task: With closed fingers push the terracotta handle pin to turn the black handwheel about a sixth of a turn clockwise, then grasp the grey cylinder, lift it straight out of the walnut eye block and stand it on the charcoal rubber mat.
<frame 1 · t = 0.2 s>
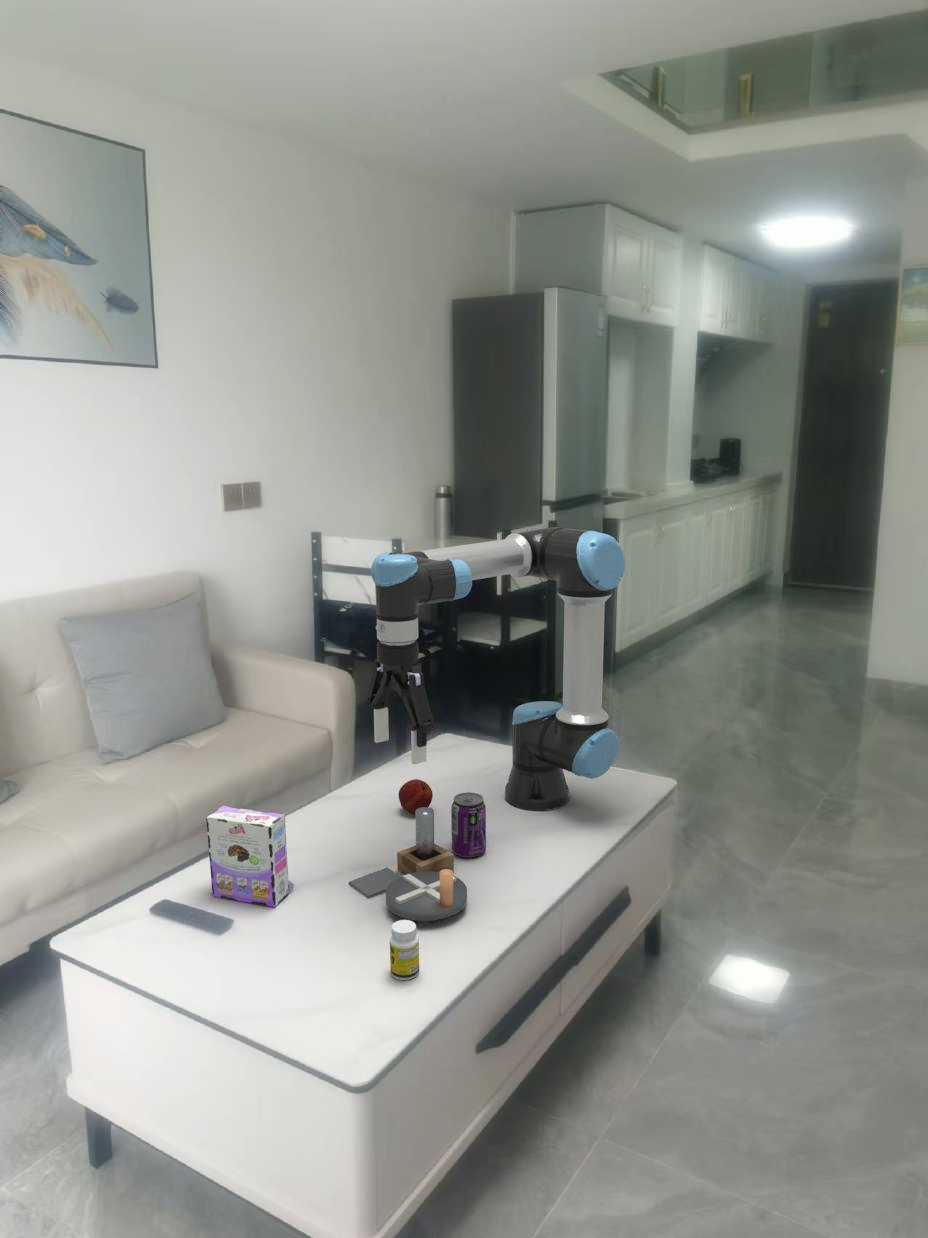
hand: (399, 751, 172), 28 cm above the table, fingers open, 13 cm apart
rest mat: (378, 883, 179), on the table
eye block: (425, 871, 184), on the table
supplement bottle: (405, 973, 151), on the table
apple: (414, 813, 212), on the table
valve body: (426, 907, 171), on the table
handwheel: (426, 879, 170), point 6 cm above the table, hinge at 0.0°
candy box: (250, 896, 176), on the table
beverage can: (468, 853, 192), on the table
grey cylinder: (425, 841, 183), in the eye block
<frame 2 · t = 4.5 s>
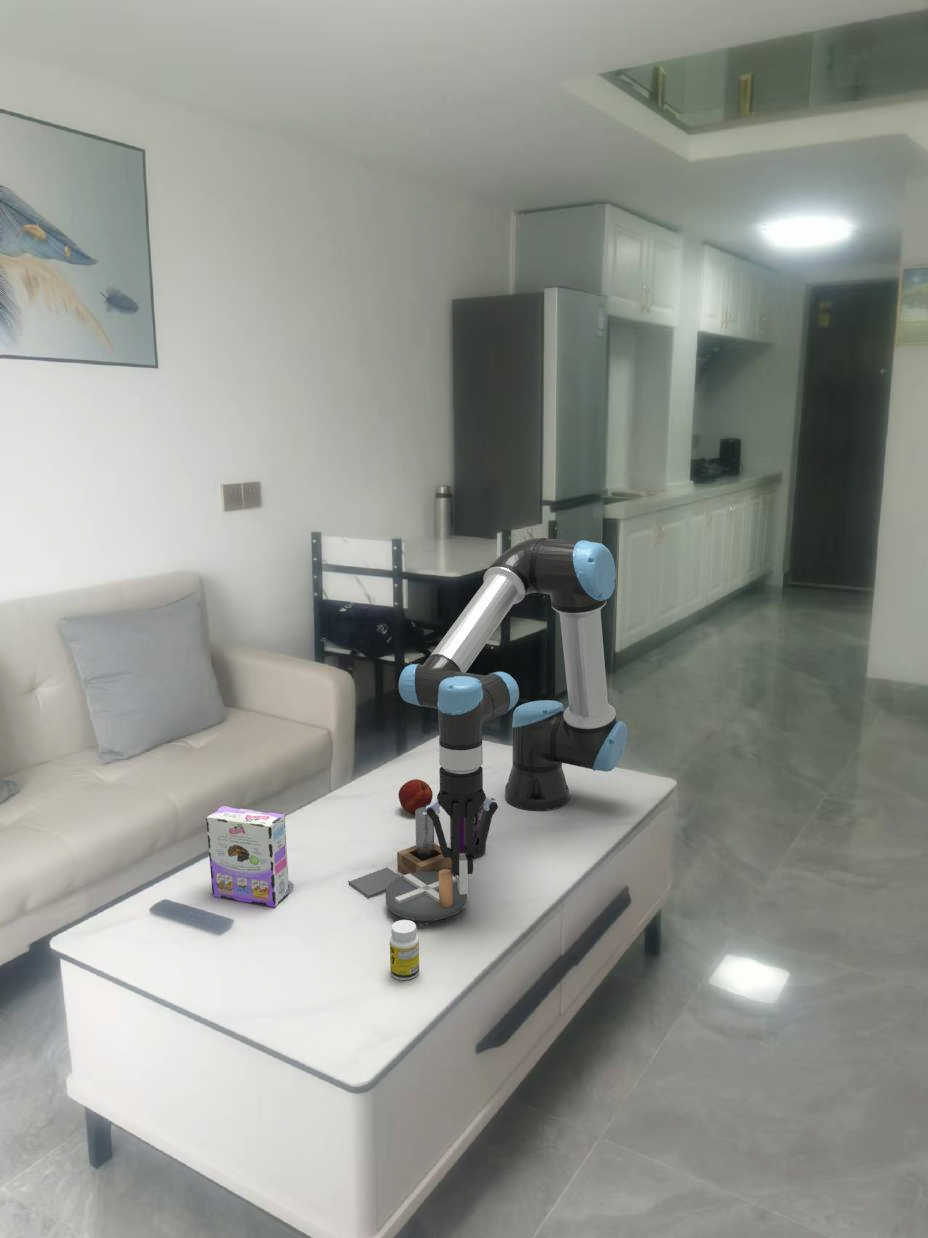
hand: (462, 890, 165), 6 cm above the table, fingers closed
handwheel: (426, 879, 170), point 6 cm above the table, hinge at 1.6°, touching gripper
everything else where it was.
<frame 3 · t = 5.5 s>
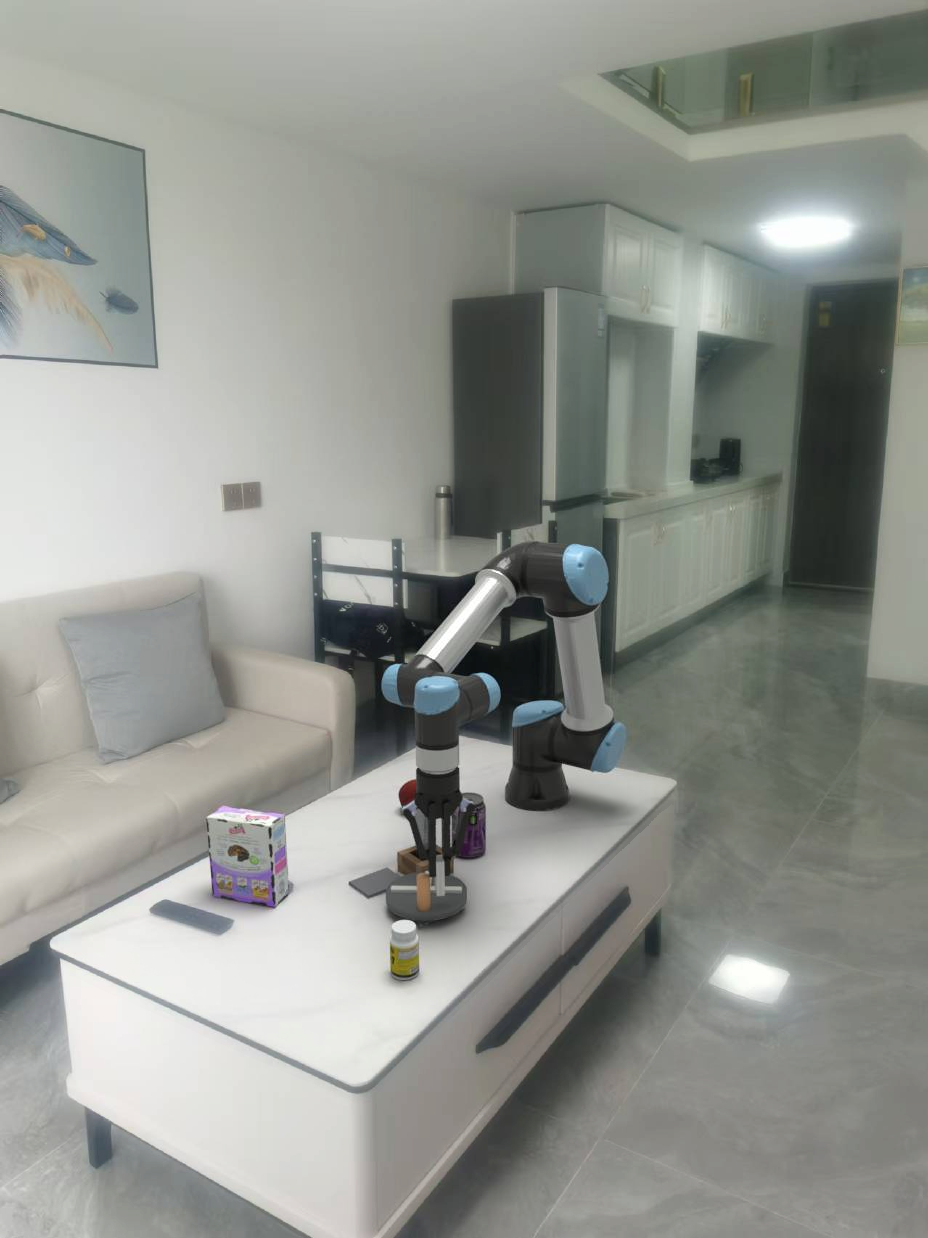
hand: (439, 892, 164), 6 cm above the table, fingers closed
handwheel: (426, 879, 170), point 6 cm above the table, hinge at 41.4°, touching gripper
everything else where it was.
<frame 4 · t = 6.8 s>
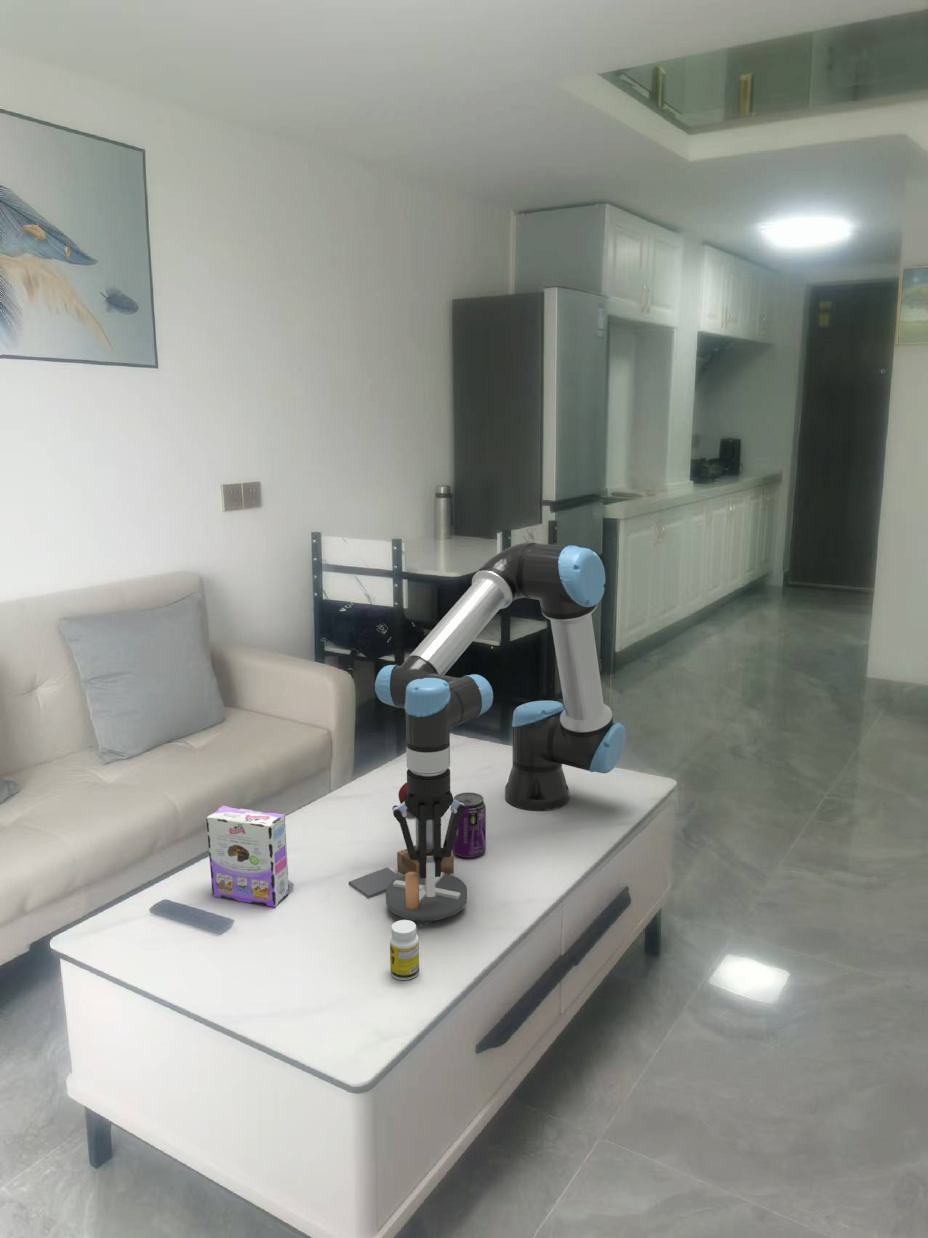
hand: (430, 892, 165), 6 cm above the table, fingers closed
handwheel: (426, 879, 170), point 6 cm above the table, hinge at 61.5°
everything else where it was.
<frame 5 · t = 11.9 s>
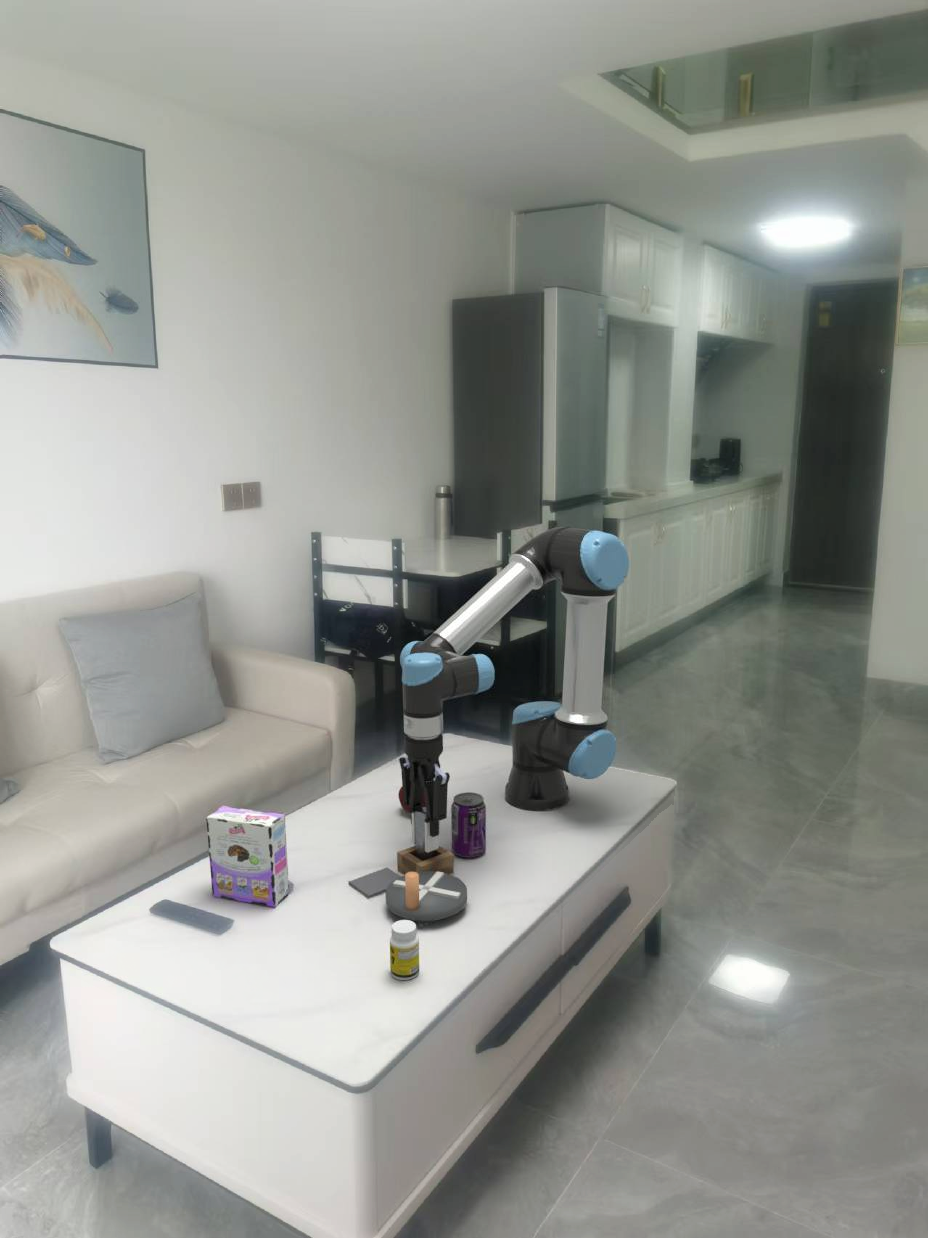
hand: (425, 845, 183), 6 cm above the table, fingers closed on grey cylinder, 4 cm apart
grey cylinder: (425, 841, 183), in the eye block, touching gripper
everything else where it was.
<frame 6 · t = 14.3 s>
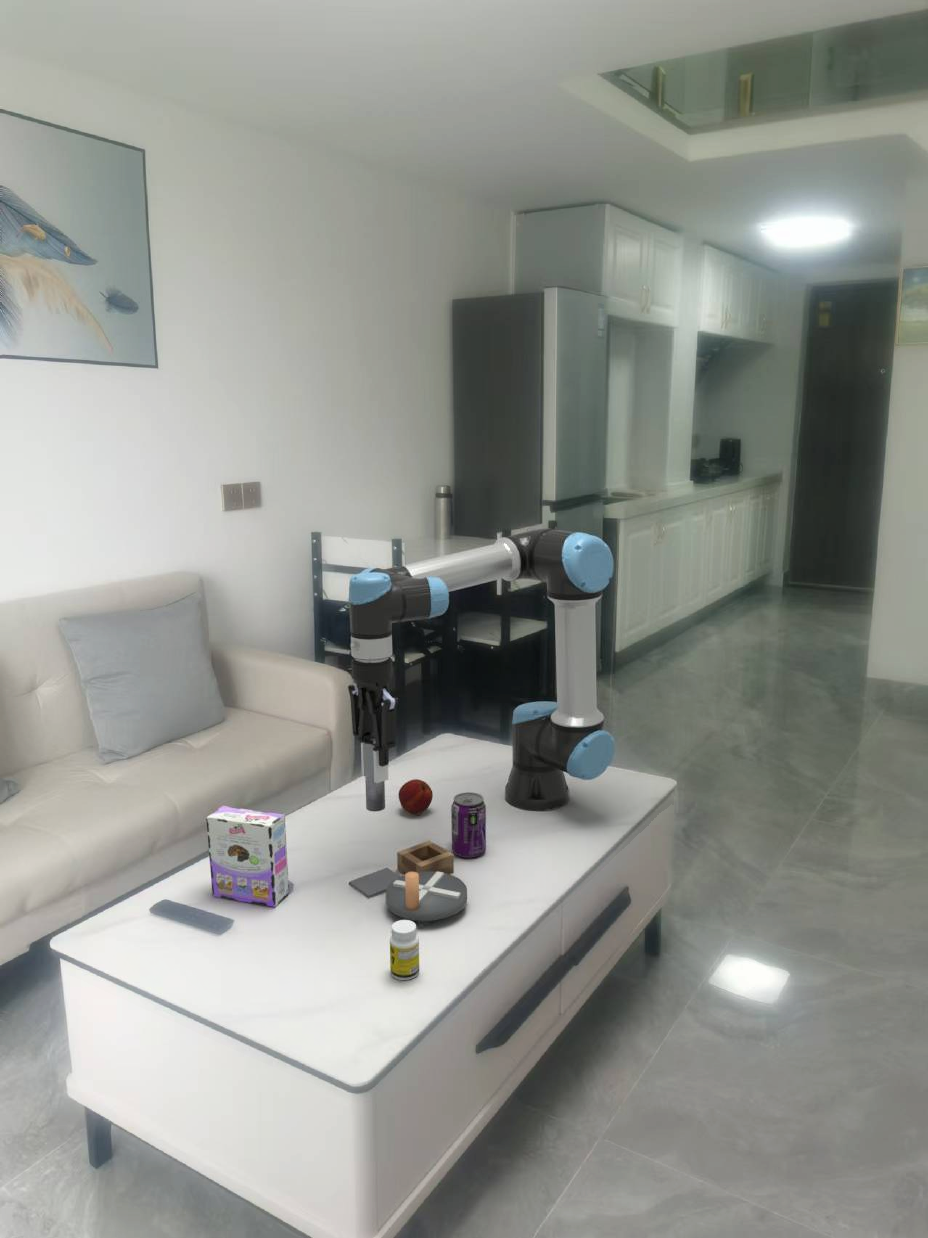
hand: (375, 777, 175), 22 cm above the table, fingers closed on grey cylinder, 3 cm apart
grey cylinder: (374, 775, 175), point 22 cm above the table, touching gripper
everything else where it was.
when the fingers open (7 cm above the table, at t = 17.2 s): grey cylinder stays where it is, resting on rest mat.
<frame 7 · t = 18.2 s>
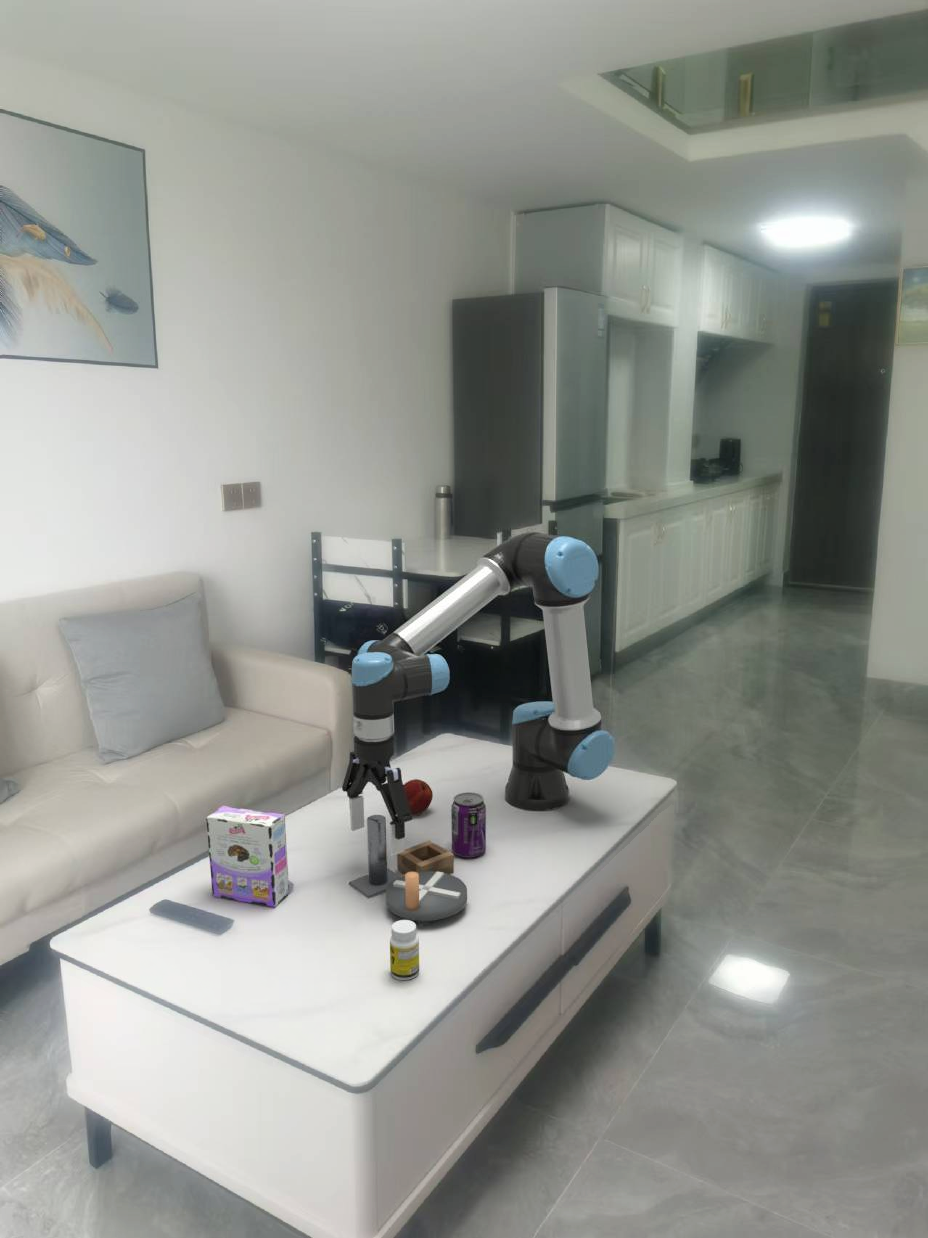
hand: (376, 840, 177), 9 cm above the table, fingers open, 13 cm apart
grey cylinder: (377, 850, 178), on the rest mat, point 7 cm above the table
everything else where it was.
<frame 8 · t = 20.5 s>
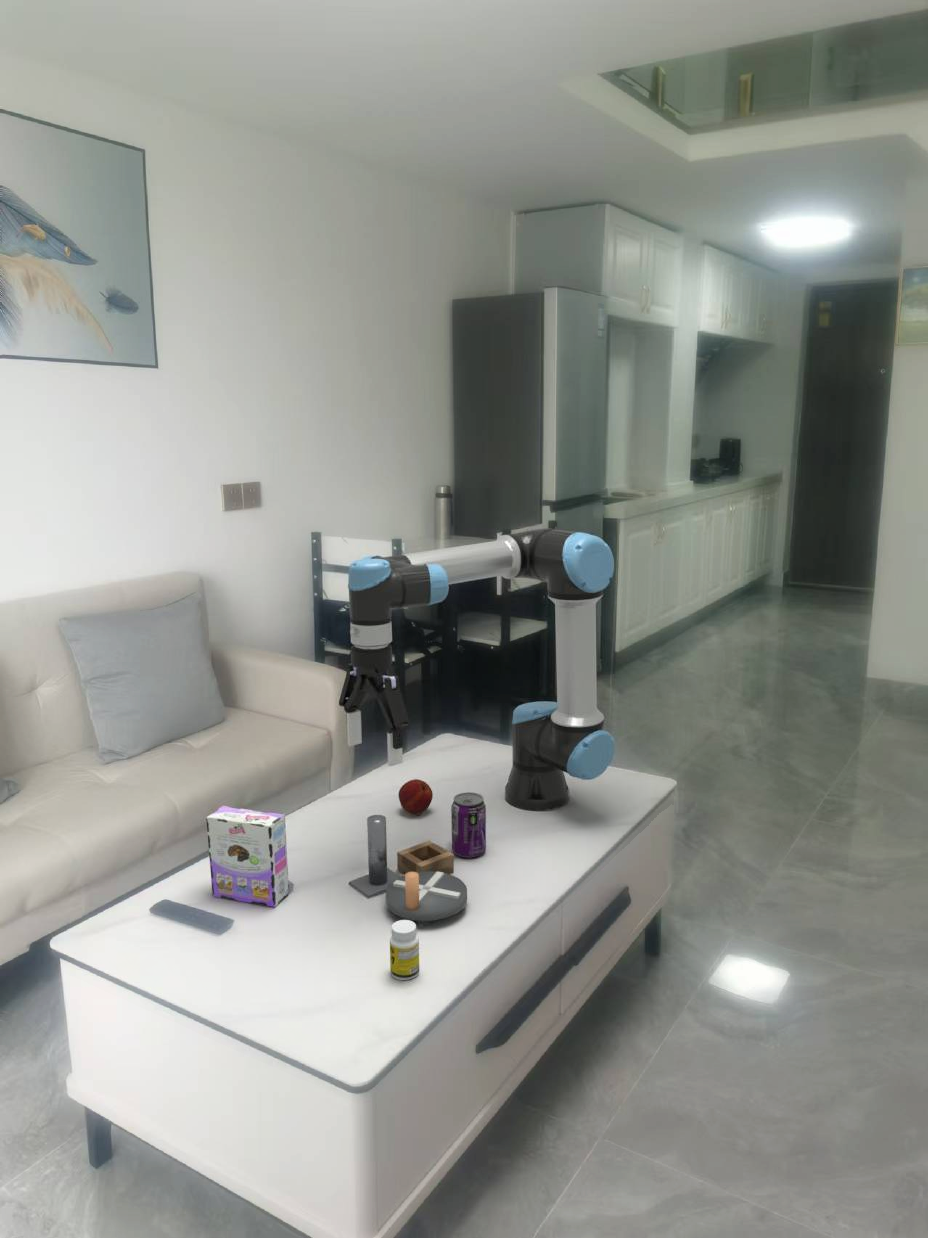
hand: (374, 754, 174), 27 cm above the table, fingers open, 13 cm apart
nothing on the table moved.
at the end: handwheel at +62° (first picture: +0°); grey cylinder inside the target area on the rest mat (0.0 cm from its centre), point 7.1 cm above the rest mat's base; the gripper is holding nothing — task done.
